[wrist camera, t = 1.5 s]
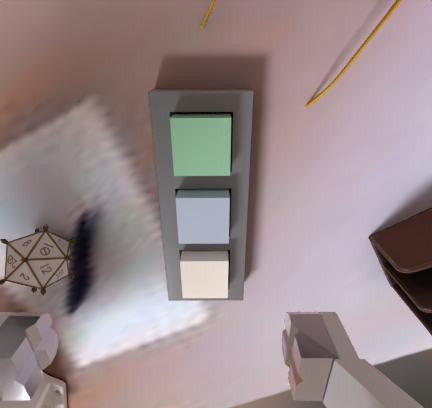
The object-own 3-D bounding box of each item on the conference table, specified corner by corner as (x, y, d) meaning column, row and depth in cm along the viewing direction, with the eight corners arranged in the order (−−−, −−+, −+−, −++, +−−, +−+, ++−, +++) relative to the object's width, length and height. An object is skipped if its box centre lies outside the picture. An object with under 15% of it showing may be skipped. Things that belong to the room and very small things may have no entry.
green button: (228, 166, 33) (230, 175, 31) (177, 167, 33) (173, 175, 31) (229, 113, 31) (231, 117, 28) (173, 113, 31) (169, 118, 28)
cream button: (226, 282, 41) (227, 298, 38) (184, 282, 41) (182, 298, 38) (227, 247, 38) (228, 261, 36) (182, 247, 38) (180, 261, 36)
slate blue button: (227, 230, 37) (228, 243, 34) (181, 230, 37) (178, 243, 34) (228, 187, 35) (229, 197, 32) (178, 187, 35) (175, 198, 32)
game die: (58, 235, 44) (-15, 275, 38) (53, 198, 38) (-36, 239, 32) (96, 274, 42) (25, 325, 35) (96, 242, 36) (11, 296, 29)
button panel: (241, 285, 44) (243, 300, 41) (171, 285, 44) (168, 300, 41) (250, 88, 32) (253, 91, 29) (154, 89, 32) (148, 91, 29)
